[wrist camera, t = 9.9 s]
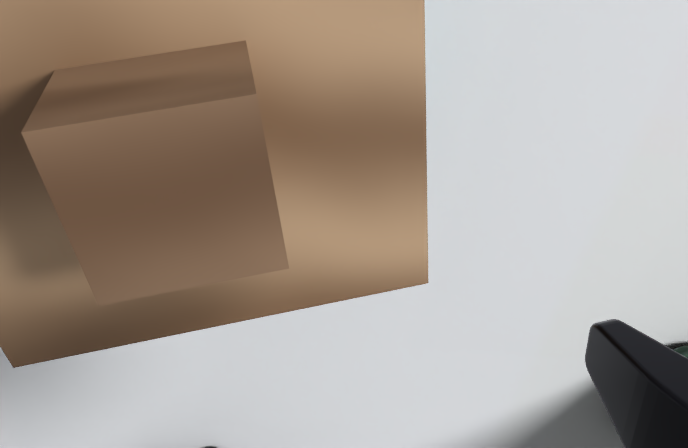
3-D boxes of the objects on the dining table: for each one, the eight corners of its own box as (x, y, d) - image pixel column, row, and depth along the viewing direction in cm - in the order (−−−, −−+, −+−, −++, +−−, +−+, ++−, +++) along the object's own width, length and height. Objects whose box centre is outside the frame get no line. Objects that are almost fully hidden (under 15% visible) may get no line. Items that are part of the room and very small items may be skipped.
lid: (420, 266, 19) (463, 356, 16) (20, 346, 17) (-18, 462, 14) (409, -207, 12) (483, -211, 9) (-258, -131, 11) (-446, -104, 7)
